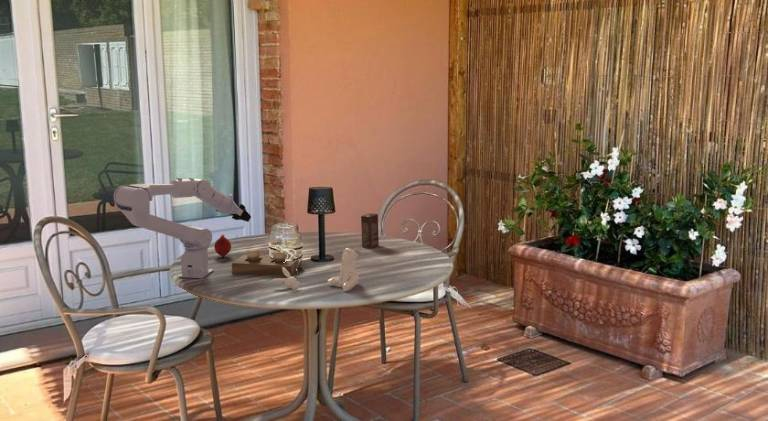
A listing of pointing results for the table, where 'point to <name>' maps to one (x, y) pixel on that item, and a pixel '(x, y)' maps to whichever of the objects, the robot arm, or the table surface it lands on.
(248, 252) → the peg
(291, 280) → the rabbit figurine
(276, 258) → the peg
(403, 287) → the table surface
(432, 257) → the table surface
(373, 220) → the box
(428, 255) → the table surface
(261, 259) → the walnut block
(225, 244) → the onion
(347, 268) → the white creature statuette
